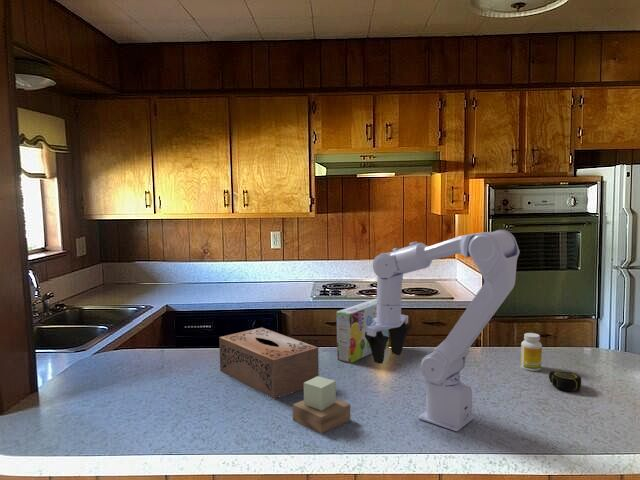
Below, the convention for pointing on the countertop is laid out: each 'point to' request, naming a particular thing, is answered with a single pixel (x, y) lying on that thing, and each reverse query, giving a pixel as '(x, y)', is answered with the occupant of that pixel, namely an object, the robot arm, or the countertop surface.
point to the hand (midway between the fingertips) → (387, 358)
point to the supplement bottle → (531, 352)
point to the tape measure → (565, 380)
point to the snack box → (355, 331)
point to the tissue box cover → (268, 361)
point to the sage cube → (319, 393)
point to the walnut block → (321, 416)
